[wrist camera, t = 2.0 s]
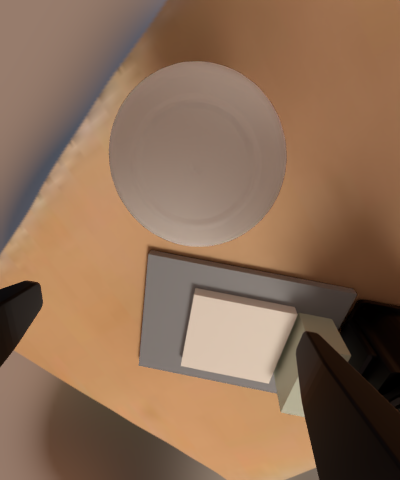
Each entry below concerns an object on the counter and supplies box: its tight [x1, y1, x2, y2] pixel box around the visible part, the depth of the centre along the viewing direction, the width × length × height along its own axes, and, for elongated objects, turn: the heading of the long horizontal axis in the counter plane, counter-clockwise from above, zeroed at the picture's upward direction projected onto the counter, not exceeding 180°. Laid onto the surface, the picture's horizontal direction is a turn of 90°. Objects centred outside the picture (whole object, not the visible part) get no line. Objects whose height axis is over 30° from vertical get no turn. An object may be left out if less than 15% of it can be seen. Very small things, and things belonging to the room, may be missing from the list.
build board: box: [139, 250, 357, 417], centre depth 23 cm, size 18×14×5 cm
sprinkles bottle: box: [109, 61, 287, 247], centre depth 12 cm, size 5×5×13 cm
